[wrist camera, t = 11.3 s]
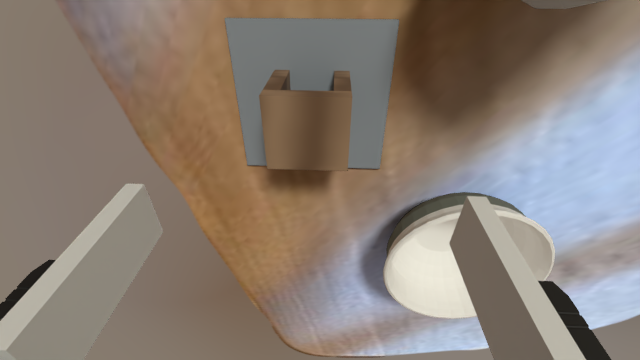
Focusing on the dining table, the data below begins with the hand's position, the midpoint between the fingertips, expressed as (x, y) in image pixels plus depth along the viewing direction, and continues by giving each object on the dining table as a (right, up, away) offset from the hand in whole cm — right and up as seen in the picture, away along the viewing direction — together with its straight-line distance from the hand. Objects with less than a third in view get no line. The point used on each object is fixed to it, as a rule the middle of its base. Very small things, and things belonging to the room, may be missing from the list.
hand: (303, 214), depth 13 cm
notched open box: (0, +10, +20) cm, 22 cm away
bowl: (+18, -4, +29) cm, 35 cm away
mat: (0, +10, +20) cm, 22 cm away
